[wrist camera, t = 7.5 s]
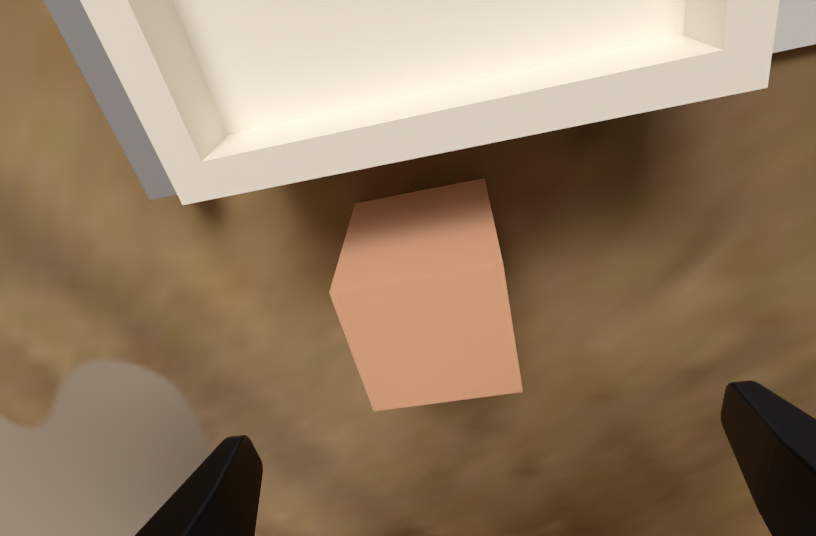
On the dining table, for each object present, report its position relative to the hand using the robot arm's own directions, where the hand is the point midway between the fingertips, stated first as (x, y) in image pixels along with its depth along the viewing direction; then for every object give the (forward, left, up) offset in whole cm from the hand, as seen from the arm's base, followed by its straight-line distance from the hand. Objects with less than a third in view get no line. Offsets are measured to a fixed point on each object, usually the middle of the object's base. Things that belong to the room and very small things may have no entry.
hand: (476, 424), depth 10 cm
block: (-3, +1, -11) cm, 12 cm away
